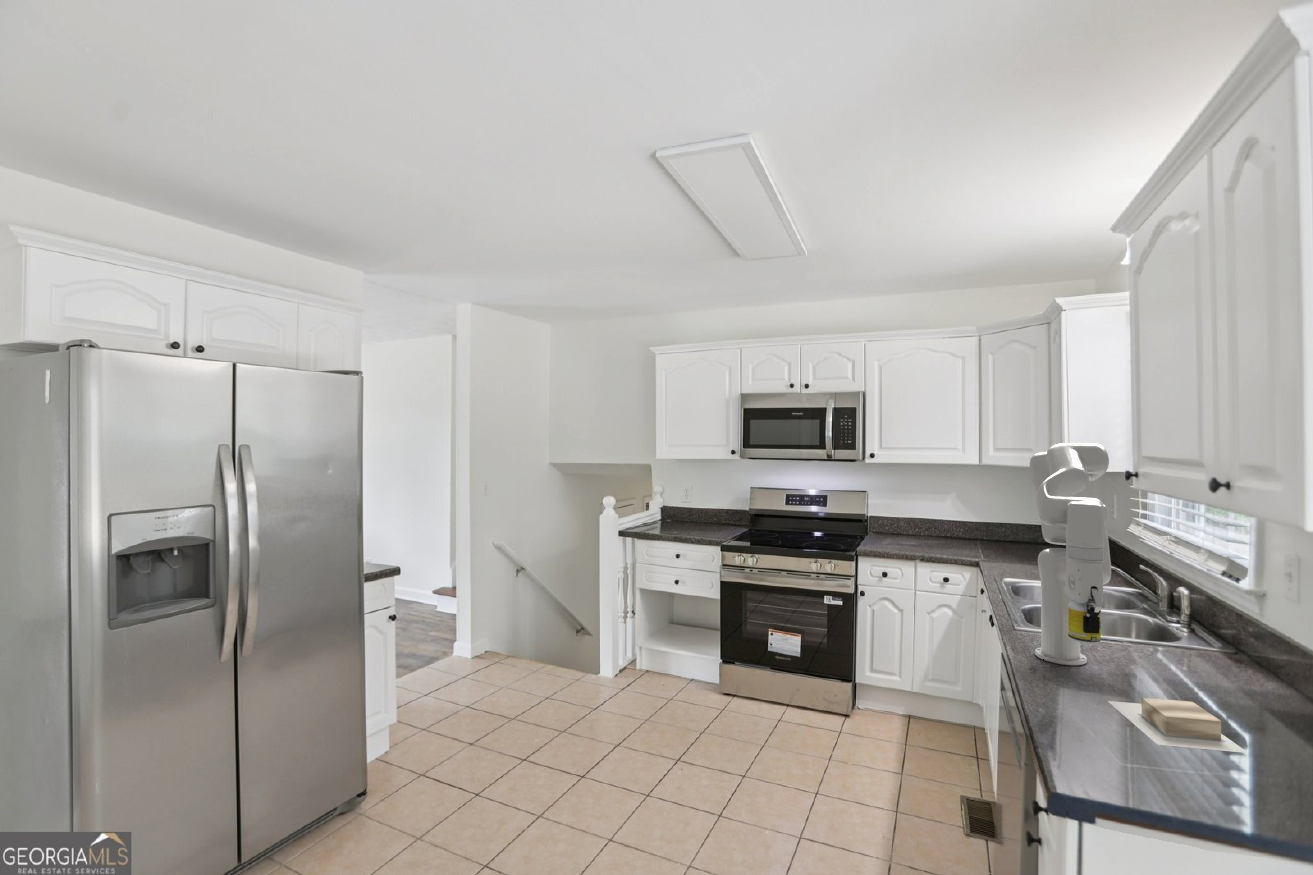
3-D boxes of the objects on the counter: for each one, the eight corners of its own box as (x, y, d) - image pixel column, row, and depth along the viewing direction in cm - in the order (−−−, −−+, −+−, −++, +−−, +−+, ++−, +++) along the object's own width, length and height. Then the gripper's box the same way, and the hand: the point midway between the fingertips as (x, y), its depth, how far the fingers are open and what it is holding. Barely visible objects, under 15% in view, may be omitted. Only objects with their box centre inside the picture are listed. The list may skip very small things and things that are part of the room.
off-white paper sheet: (1107, 702, 152) (1107, 700, 152) (1184, 708, 149) (1184, 707, 149) (1157, 746, 131) (1157, 744, 131) (1248, 754, 127) (1248, 753, 127)
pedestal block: (1141, 715, 145) (1141, 697, 145) (1192, 719, 142) (1192, 701, 142) (1166, 735, 135) (1166, 716, 135) (1221, 740, 133) (1221, 721, 133)
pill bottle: (1086, 646, 147) (1086, 597, 147) (1061, 637, 154) (1061, 590, 153) (1107, 644, 149) (1108, 595, 149) (1082, 635, 155) (1082, 588, 155)
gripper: (1053, 545, 160) (1052, 616, 160) (1082, 560, 143) (1082, 639, 144) (1086, 546, 158) (1086, 617, 159) (1120, 562, 141) (1120, 641, 142)
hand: (1084, 627), depth 151 cm, fingers closed on pill bottle, 6 cm apart
